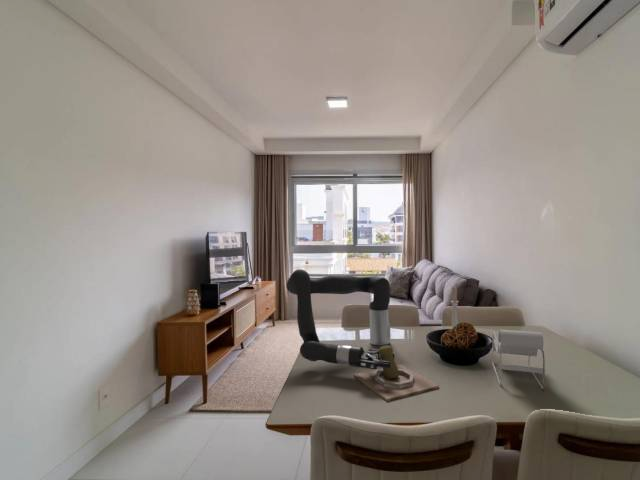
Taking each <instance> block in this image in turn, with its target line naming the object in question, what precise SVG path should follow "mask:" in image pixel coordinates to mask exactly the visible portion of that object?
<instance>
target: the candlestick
mask: <svg viewBox="0 0 640 480" xmlns="http://www.w3.org/2000/svg"><path fill="white" fill-rule="evenodd" d="M457 291H458V288H457V286H452V287H451V299H452V300H450V303H451V306H452V311H451V313H452V314H451V329H452V328H453V327H454V326H456V325H457V324H458V325H459V321H458V308H457V307H458V305H459V304H458V303H459V302H460V301H459V300H458V299H457V298H458V295H457V294H458V292H457Z"/></svg>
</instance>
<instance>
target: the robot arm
mask: <svg viewBox="0 0 640 480" xmlns="http://www.w3.org/2000/svg"><path fill="white" fill-rule="evenodd" d="M286 289H287V290H288V292H289V294H290V293H291V294H293V295H296V296H297V297H296V299H297V306H296V307H297V308H296V309H297V311H296V317H297V318H296V319H297V326H298V333H299V336H300V337H301V340H303V343H302V344H301V346H300V347H299V353H300V355H301V357H302V358H303V359H306V360H307V361H310V362H317V361H323V362H326V363H330V364H338V365H342V366H346V367H347V366H348V367H355V368H364V369H369V370H376V369H381V368H383V367H384V368H390V367H391V363H390V361H382V356H381V355H380V353H379V349H378V348H368V350H367V351H365V350H364V347H363V346H357V345H348V344H342V345H341V344H332V343H331V344H328V343H324V342H320V339H319V336H318V333H317V329H316V324H315V323H316V322H315V319H314V312H313V306H312V294H313V295H314V294H322V295H323V294H324V295H325V294H329V295H330V294H331V295H333V294H334V295H347V294H348V295H349V294H353V293H357V292H358V293H367V294H372V295H373V299H372V301H371V302H369V343H370V344H371V345H374V346H380V347H382V346H385V345H388V344H391V324H390V322H389V305H390V301H391V300H390V298H391V285H390V281H389V280H388V279H387V278H385V277H382V276H378V275H373V276H354V275H347V274H346V275H345V274H330V275H326V276H322V277H318V278H312V279H311V276H310V274H309V273H308V272H307V270H305V269H301V268H299V269H295V270H294V271H293V272H292V273H291V275H290V277H289V278H288V280H287V282H286ZM392 355H393V358H394V359H395V353H393V354H392Z"/></svg>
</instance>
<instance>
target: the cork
mask: <svg viewBox="0 0 640 480" xmlns="http://www.w3.org/2000/svg"><path fill="white" fill-rule="evenodd" d="M379 353H380V355H381V356H382V359H381V360H382V361H390V363H391V367H390V368H384V367H382V368H383V375H384V378H387V379H391V378H396V377H398V376H399V375H400V374H399V371H398V368H397V366H396V365H397V363H396V361H395V357H394V358H393V355H392V354H394V350H393V347H392V346H391V345H388V344H387V345H382V346H380V347H379Z"/></svg>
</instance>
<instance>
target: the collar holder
mask: <svg viewBox="0 0 640 480" xmlns="http://www.w3.org/2000/svg"><path fill="white" fill-rule="evenodd" d="M396 366H397V368H398V371H399V374H400V375H399V376H398V377H396V378H391V379H387V378H384V375H383V367H380V368H377V369H376V370H375V369H370V370H367V371H362V372H359V373H354V374H353V377H355V378H356V380H358V381H359V382H361V383H362V384H363V385H365V386H366V387H367V388H369V389H370V390H371V391H372V392H374V393H375V394H377V395H378V396H379V397H380V398H381V399H383V400H384V401H385V402H390V401H394V400H398V399H402V398H407V397H409V396H414V395H418V394H421V393H424V392H429V391H432V390H437V389H440V385H438V384H437V383H435V382H433V381H431V380H429V379H428V378H427V377H425V376H424V375H423V376H422V375H420V374H419V373H417V372H415V371H413V370H412V369H410V368H408V367H406V366H405V365H403V364H400V363H399V364H396Z"/></svg>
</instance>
